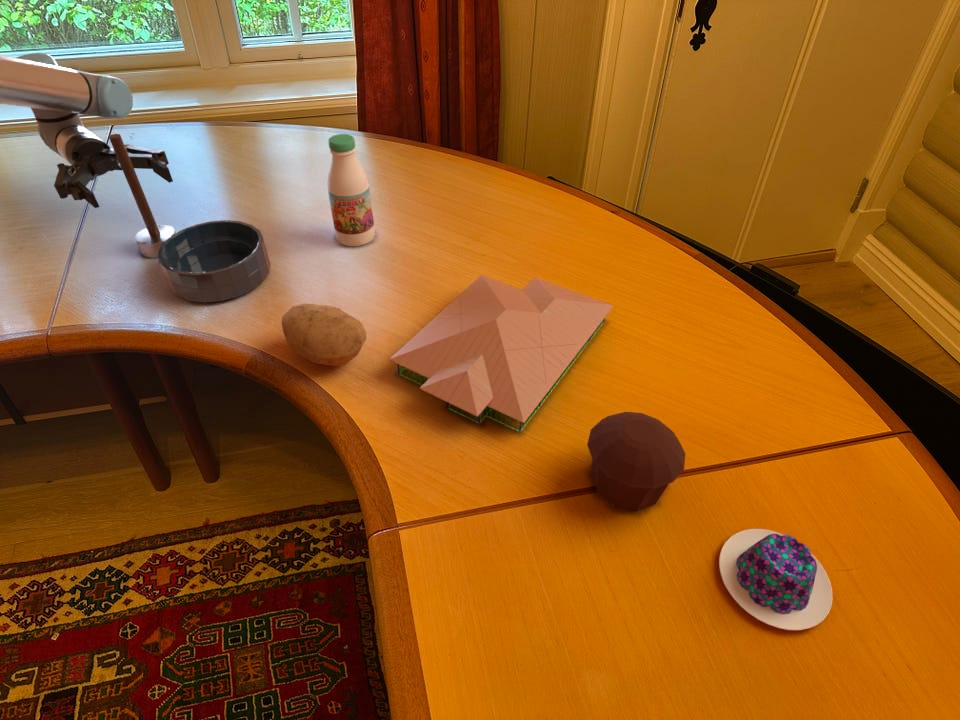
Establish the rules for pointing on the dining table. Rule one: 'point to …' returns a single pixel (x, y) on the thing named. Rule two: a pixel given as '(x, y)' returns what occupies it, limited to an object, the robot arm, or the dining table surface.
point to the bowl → (214, 260)
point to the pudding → (775, 579)
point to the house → (502, 346)
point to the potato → (323, 333)
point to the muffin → (634, 459)
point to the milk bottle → (349, 194)
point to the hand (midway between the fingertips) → (132, 187)
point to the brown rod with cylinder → (141, 205)
